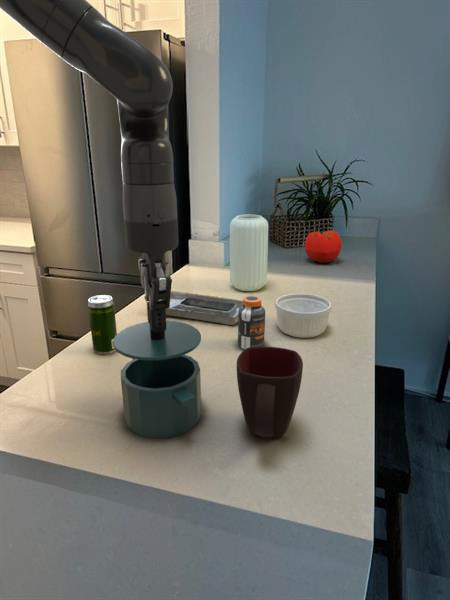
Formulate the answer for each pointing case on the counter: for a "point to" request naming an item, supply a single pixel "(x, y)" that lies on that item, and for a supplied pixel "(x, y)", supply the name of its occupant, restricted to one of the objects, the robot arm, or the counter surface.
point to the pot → (161, 396)
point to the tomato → (323, 246)
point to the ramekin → (302, 314)
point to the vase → (248, 252)
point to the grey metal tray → (200, 313)
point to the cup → (268, 389)
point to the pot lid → (157, 341)
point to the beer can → (102, 323)
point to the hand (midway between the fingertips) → (157, 326)
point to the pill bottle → (251, 323)
